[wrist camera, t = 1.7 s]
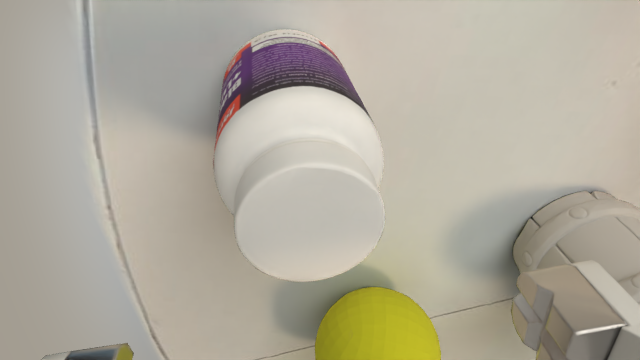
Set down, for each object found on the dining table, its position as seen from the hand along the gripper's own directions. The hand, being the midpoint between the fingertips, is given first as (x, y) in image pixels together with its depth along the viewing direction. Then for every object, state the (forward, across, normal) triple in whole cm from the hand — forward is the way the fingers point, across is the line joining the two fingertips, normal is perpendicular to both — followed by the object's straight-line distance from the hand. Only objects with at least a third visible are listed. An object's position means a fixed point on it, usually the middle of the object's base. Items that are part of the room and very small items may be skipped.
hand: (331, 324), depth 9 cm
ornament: (+13, -3, +15) cm, 20 cm away
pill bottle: (+13, 0, 0) cm, 13 cm away
